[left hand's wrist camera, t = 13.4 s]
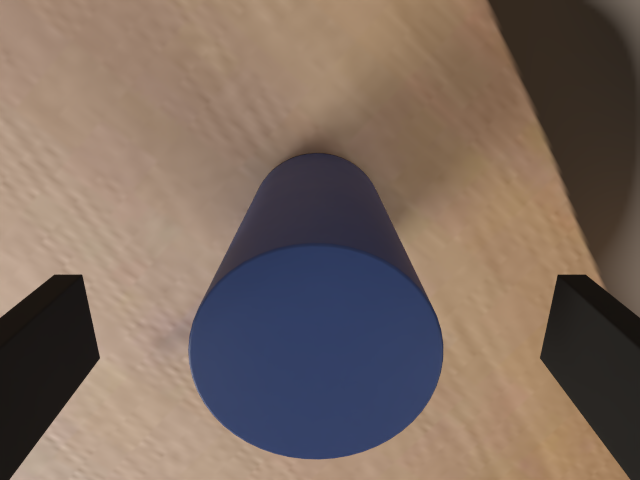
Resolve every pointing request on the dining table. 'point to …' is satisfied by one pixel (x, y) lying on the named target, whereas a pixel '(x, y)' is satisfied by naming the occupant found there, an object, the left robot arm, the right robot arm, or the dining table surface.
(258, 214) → the canister
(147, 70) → the dining table surface
